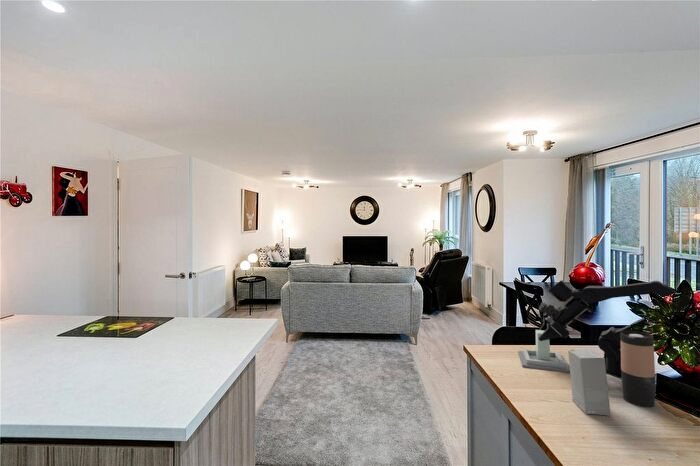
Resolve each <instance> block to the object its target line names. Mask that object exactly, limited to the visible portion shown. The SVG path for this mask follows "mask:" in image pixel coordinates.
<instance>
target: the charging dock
mask: <svg viewBox="0 0 700 466" xmlns="http://www.w3.org/2000/svg"><path fill="white" fill-rule="evenodd" d="M517 353H518V356H519V360H520V362H521V363H520V364H521V367H522V368H527V369H528V368H529V369H538V370H547V371H555V372H563V373H564V372H565V373H570V365H569V363H568V362H567V360H566V358H565V356H563V354H560V353H559V351H551V350H550V360H543V359H538V358H537V355H536V349H527V348H522V350H518V351H517Z"/></svg>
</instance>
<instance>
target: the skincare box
mask: <svg viewBox="0 0 700 466" xmlns="http://www.w3.org/2000/svg"><path fill="white" fill-rule="evenodd" d="M567 354H568V362H569V363H568V365H569V366H570V372H569V373H570V383H571V395H572V396H571V397H572V402H574V403H575V405H577V406H578V407H579V408H580V410H582V411H583V412H584V414H586V415H603V416H611V406H610V397H609V386H608V379H607V378H608V377H607V373H606V367H605V358H603V357H604V356H602V355H600V354H598V353H596V352H595V351H593V350H591V349H567Z"/></svg>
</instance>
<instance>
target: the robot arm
mask: <svg viewBox="0 0 700 466" xmlns="http://www.w3.org/2000/svg"><path fill="white" fill-rule="evenodd" d="M675 290H677V289H676V288H674V287H672V286H669V285H667V284H665V283H663V282H661V281H660V280H651V281H648V282H646V281H645V282H638V283H631V284H630V283H629V284H622V285H615V286H607V285H606V286H605V285H587V286H586V287H584V288H579V289H572V287H570V286H569V285H568V284H567V283H566V282H565V281H564V280H562V279H561V280H560V281H559V282H557V283H555V284H554V285H553V286H552V287H551V288H549V289H548V290H547V293H549V294H550V295H551V296H552V297H553V298H554V299H555V300H556V301H558V302H559V303H560V302H561V303H565V304H564V305H563V306H557V307H555V305H552V304H550V303H549V304H548V303H546V302H544V301H541V303H540V304H539V307H538V310H539V311H540V312H542V313H543V314H542V315H543V317H542V318H543V320H542V321H543V323H542V325H541V326H540V328H539V330H545V332H544V333H543V334H542V335H541V336H540V337H539V340H540V341H543V340H548V339H549V340H551V339H556V338H563V339H566V338H568V337H569V336H570V331H569V330H568V329H567V328H568V327H567V326H568V325H570V324H571V323H572V322H573V323H576V321H577V320H576V319H577V318H578V317H579V316H580V315H582V314H583V313H584V312H585V311H586V310H587V311H588V312H589V313H593V312H594V311H593V307H594V306H593V305H592V304H596V303H601V302H604V301H607V300H610V299H615V298H623V297H624V298H625V297H634V296H643V295H645V296H646V295H650V294H649V293H651V292H654V293H656V294H655V295H657V294H658V295H657V296H659V295H660V296H661V297H660V296H659V297H660V298H662V297H665V296H669V295H671V294H673V293H674V292H675ZM675 293H676V292H675ZM675 293H674V294H675ZM571 297H572V298H571ZM570 298H571V299H570ZM569 299H570V300H569ZM568 300H569V301H568ZM567 301H568V302H567ZM590 304H591V305H590ZM645 322H647V320H646V319H644V317H642V318H640V319H638V320H636V321H634V322H632V323H630V324H628V325H626V326H625V327H622V328H618V329H616V328H615V326H611V327H610V328H609V329H607V330H602V332H601V333H600V336H599V338H598V340H597V346H598V348H599V349H600V350H601V351H603V356H602V357H603V358H605V367H606V374H608V375H611V376H614V377H617V378H621V379H622V374H621V331H633V330H631V325H633V324H637V323H645Z"/></svg>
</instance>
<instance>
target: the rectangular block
mask: <svg viewBox="0 0 700 466" xmlns="http://www.w3.org/2000/svg"><path fill="white" fill-rule="evenodd" d="M544 332H545V330H540V329H535V350H536V355H537V358H538V359H543V360H550V351H551V350H550V349H551V348H550V347H551V345H550V343H551V342H550V340H551V339H548V340H543V341H540V340H539V337H540V336H541V335H542V334H543V333H544Z"/></svg>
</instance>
